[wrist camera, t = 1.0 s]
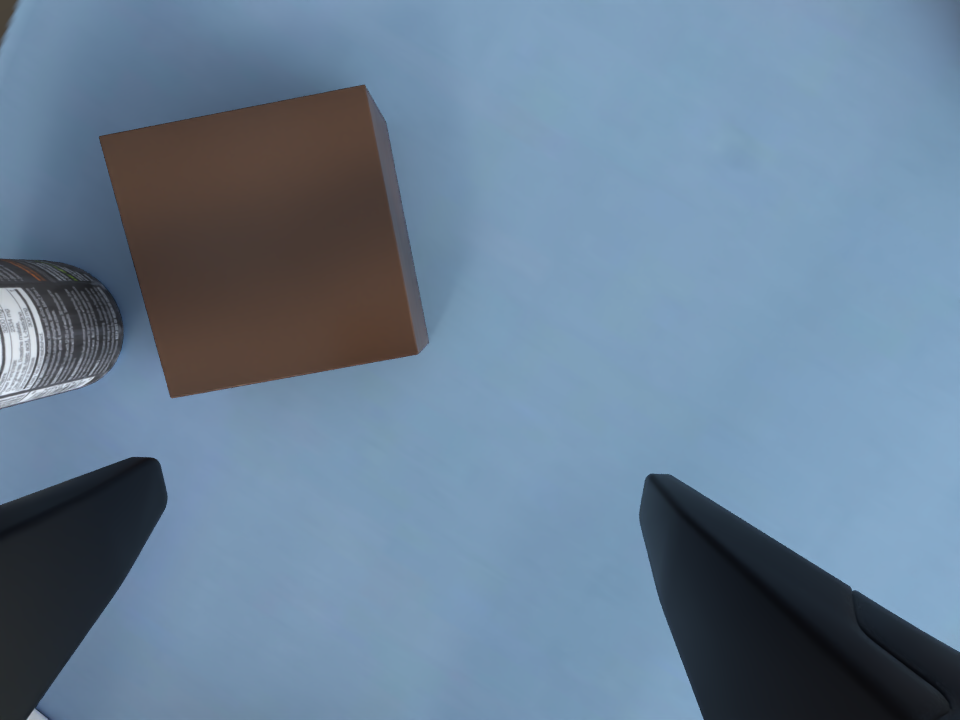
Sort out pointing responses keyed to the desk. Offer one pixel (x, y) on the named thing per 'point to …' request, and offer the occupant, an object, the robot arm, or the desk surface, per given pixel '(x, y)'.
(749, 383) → the desk surface
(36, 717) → the jar
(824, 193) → the desk surface
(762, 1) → the desk surface
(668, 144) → the desk surface
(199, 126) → the block
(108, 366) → the pill bottle
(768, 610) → the robot arm
